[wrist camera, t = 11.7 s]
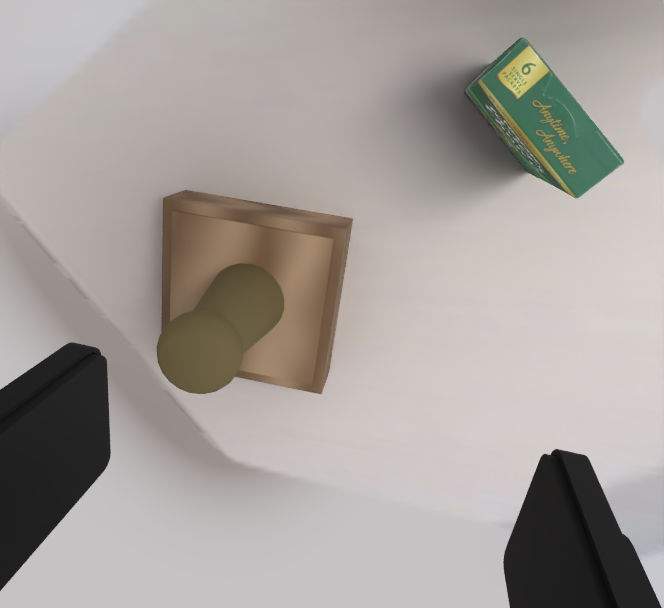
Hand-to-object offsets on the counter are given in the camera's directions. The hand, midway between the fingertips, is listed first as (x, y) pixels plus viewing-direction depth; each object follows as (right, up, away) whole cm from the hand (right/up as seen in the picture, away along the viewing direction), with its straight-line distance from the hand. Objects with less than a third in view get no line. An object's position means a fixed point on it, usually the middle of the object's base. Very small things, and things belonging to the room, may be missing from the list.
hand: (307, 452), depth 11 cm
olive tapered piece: (-6, +3, +29) cm, 30 cm away
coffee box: (+13, +16, +26) cm, 33 cm away
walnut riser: (-6, +5, +33) cm, 34 cm away
